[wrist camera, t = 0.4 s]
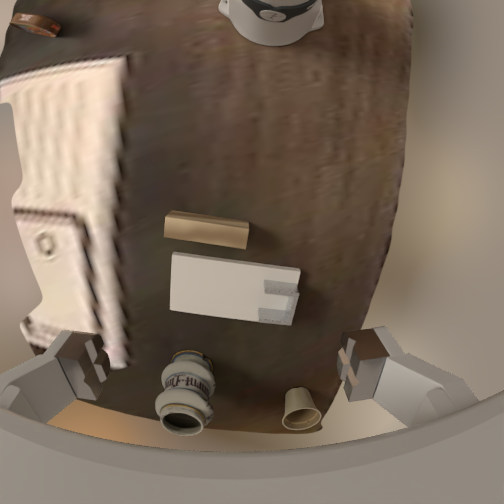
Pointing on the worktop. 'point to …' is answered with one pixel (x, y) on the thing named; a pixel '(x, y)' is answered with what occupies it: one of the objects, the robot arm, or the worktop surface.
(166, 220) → the rail
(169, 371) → the apothecary jar
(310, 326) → the worktop surface
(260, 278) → the bracket
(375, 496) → the robot arm
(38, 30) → the tin
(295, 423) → the flower pot
